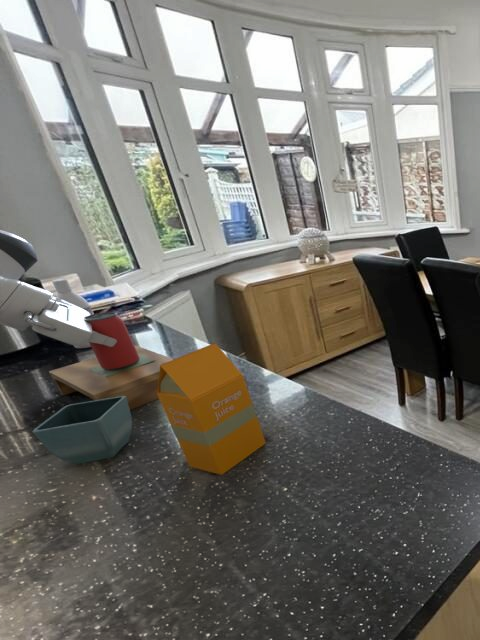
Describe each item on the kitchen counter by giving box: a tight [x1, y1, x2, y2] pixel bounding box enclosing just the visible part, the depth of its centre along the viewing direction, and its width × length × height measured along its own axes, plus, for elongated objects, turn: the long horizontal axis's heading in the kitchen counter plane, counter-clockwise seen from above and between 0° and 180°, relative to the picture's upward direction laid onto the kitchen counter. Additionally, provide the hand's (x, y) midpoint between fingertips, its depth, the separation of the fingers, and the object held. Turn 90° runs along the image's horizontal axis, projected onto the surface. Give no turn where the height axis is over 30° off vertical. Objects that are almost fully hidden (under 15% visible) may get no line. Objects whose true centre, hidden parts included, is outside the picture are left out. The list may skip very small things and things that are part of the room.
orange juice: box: [157, 342, 267, 476], centre depth 66 cm, size 8×9×20 cm
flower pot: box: [31, 396, 133, 465], centre depth 69 cm, size 9×9×9 cm
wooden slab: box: [48, 345, 175, 411], centre depth 91 cm, size 16×24×6 cm, turn 62°
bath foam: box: [51, 278, 95, 349], centre depth 115 cm, size 7×7×20 cm
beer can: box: [83, 311, 139, 370], centre depth 88 cm, size 7×7×12 cm
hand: (113, 338), depth 89 cm, fingers closed on beer can, 6 cm apart
